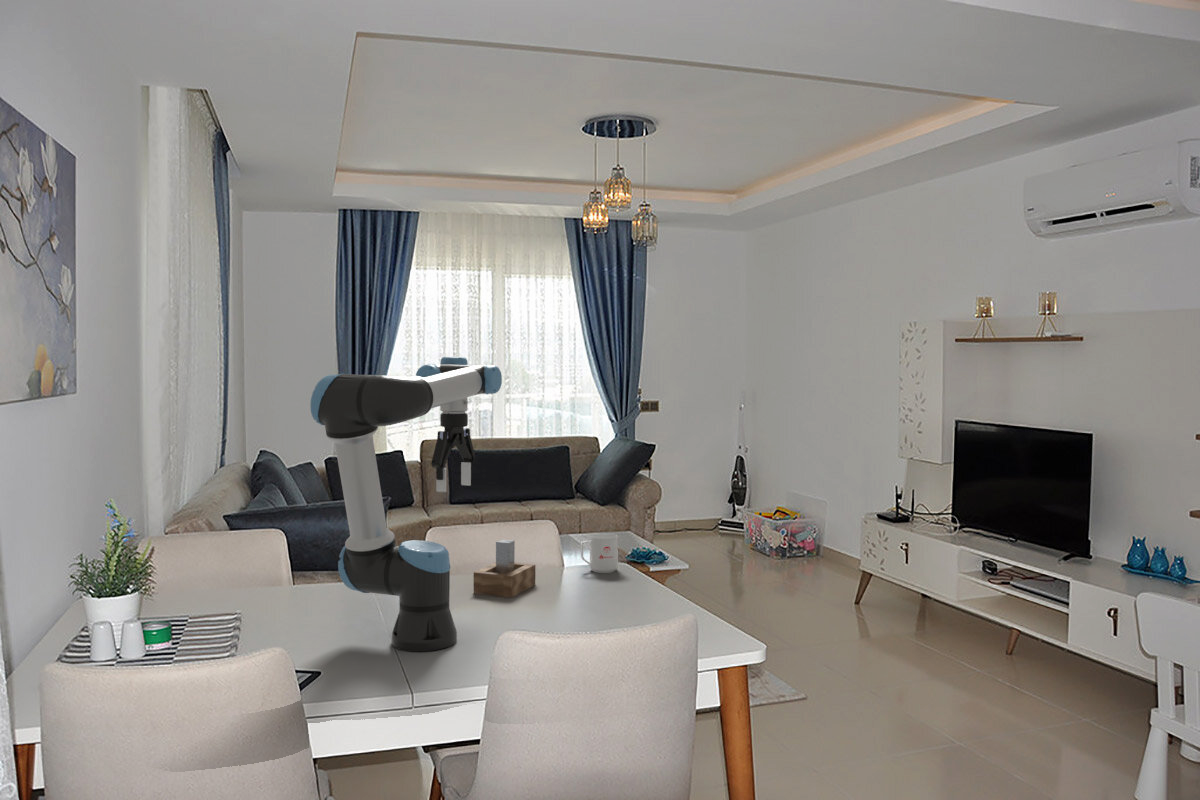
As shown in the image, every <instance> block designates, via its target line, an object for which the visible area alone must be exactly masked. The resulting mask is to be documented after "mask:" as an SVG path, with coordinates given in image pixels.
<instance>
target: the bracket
mask: <svg viewBox="0 0 1200 800" xmlns="http://www.w3.org/2000/svg"><path fill="white" fill-rule="evenodd" d="M515 544H516V543H515V540H512V539H511V540H510V539H499V540H498V541H495V563H496V573H502V574H508V573H510V572H512V571H514V562H515Z"/></svg>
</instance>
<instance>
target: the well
mask: <svg viewBox="0 0 1200 800" xmlns="http://www.w3.org/2000/svg"><path fill="white" fill-rule="evenodd" d="M535 585H536V564H534V563H533V564H532V563H525V562H524V563H523V562H515V561H514V571H512V572H510V573H508V574H502V573H496V562H494V563H491V564H489V565H487V566H485V567H482V568H481V569H477V570H476V571H474V572H473V594H478V595H484V596H485V595H486V596H495V597H503V598H514V597H515V596H517V595H519V594H520V593H522V592H524V591H526V590H528V589H529V588H532V587H533V586H535Z"/></svg>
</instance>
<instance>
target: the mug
mask: <svg viewBox="0 0 1200 800" xmlns="http://www.w3.org/2000/svg"><path fill="white" fill-rule="evenodd" d="M618 541H619V536H618V535H617V534H616V533H611V532H598V533H597V532H596V533H592V534H590V536H589V540H588V539H587V540H583V541H580V557H581V560H582V561H584V562H585V563H586V564H587V565H588V566H589V568H590V569H591V571H592V572H593V573H599V574H611V573H614V572H615V571H616V570H617V569H618V564H619V563H618V561H619V554H618V553H619V552H618V551H619V549H618V548H619V542H618ZM585 543H589V561H588V560H586V559H585V558H584V544H585Z"/></svg>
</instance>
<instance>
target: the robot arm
mask: <svg viewBox="0 0 1200 800" xmlns="http://www.w3.org/2000/svg"><path fill="white" fill-rule="evenodd" d="M468 363H469V362H468V359H467V358H466V357H465V356H463V357H462V356H444V357H441V358H440V364H439V363H438V364H436V363H427V364H424V365H422V366H420V367H419V368H418V369H417V371H416V372H415V375H409V376H398V375H397V376H395V375H385V374H384V375H383V374H350V373H343V372H342V373H339V374H328V375H326V376H323V377H322V378H320V380H319V381H318V382H317V384H316V385H315V387H314V389H313V391H312V394H311V398H310V414H311V417H312V418H313V420H314V421H315V422H316V423H317V424H318V425H321V426H324V429H325V433H326V435H325V436H326V438H328V439H329V440H331V441H332V442H334V446H335V447H334V448H335V453H336V458H337V465H338V469H339V470H338V471H339V476H340V482H341V487H342V488H341V489H342V493H343V500H344V506H345V512H346V518H347V523H348V524H347V525H348V530H349V537H348V538H346V541H345V542H344V544H345V545H344V546H343V547H342V549H341V550H340V553H339V560H338V562H337V566H338V567H337V568H338V574H339V577H340V579H341V581H342V583H343V584H344V585H345V586H346V588H348V589H350V590H351V591H356V592H360V593H363V594H378V595H386V596H387V595H388V596H396V597H399V610H398V614H397V617H396V620H395V623H394V627H393V630H392V633H391V645H392V646H393V647H394V648H395V649H399V650H402V651H406V652H408V651H409V652H433V651H437V650H438V651H439V650H443V649H446V648H450V647H451V646H454V645H455V644H456V643H457V641H458V639H457V637H458V636H457V635H458V633H457V628H456V624H455V622H454V619H453V616H452V613H451V609H450V571H451V570H450V569H451V562H450V553H449V551H448V549H447V548H446V547H445V546H444V545H442V544H440V543H439V542H435V541H431V540H430V541H429V540H417V539H412V540H405V541H403V542H401V543H400V545H397V543H396V535H395V533H394V532H393V531H391V530H390V529H389V528H387V527H388V526H387V521H386V514H385V513H386V512H385V508H384V502H383V495H382V489H381V483H380V476H379V470H378V463H377V456H376V450H375V444H374V438H373V437H374V435H375V433H376V432H377V431H378V429H379V427H386V426H392V425H397V424H400V423H404V422H407V421H410V420H414V419H417V418H419V417H422V416H426V415H427V414H428V413H429V412H430V411H431V410H432V409H434V408H437V407H440V411H441V414H440V418H439V419H440V427H443V428H444V430H443V431H442V430H439V431H437V438H436V443H435V445H434V446H435V448H434V450H433V454H432V458H431V463H430V466H431V467H432V468H433V469H434V468H435V469H436V471H435V475H436V477H435V478H436V481H435V482H436V484H435V485H436V488H435V489H436V490H435V491H436V492H440V493H446V492H447V467H446V464H447V462H448V460H449V456H450V454H451V452H452V449H454V448H455V447H456V448H457V451H458V454H459V455H460V458H461V459H462V461H463V462H460V463H461V464H460V472H461V473H460V485H461V486H467V487H468V486H469V487H470V486H472V483H471V482H472V481H471V480H472V469H471V468H472V463H474V462H475V459H476V455H475V454H476V453H475V450H474V446H473V442H472V438H471V429H470V428H469V427H468V423H469V422H468V421H469V415H468V413H467V411H468V409H469V408H468V404H469V399H468V398H469V397H473V396H477V395H480V394H481V395H482V394H483V395H484V394H485V395H489V394H490V395H491V394H492V395H493V394H497V393H499V391H500V390H501V386H502V383H503V382H502V381H503V377H502V372H501V369H500V368H499V367H498V366H497V365H494V364H493V365H492V364H468ZM467 427H468V428H467Z"/></svg>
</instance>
